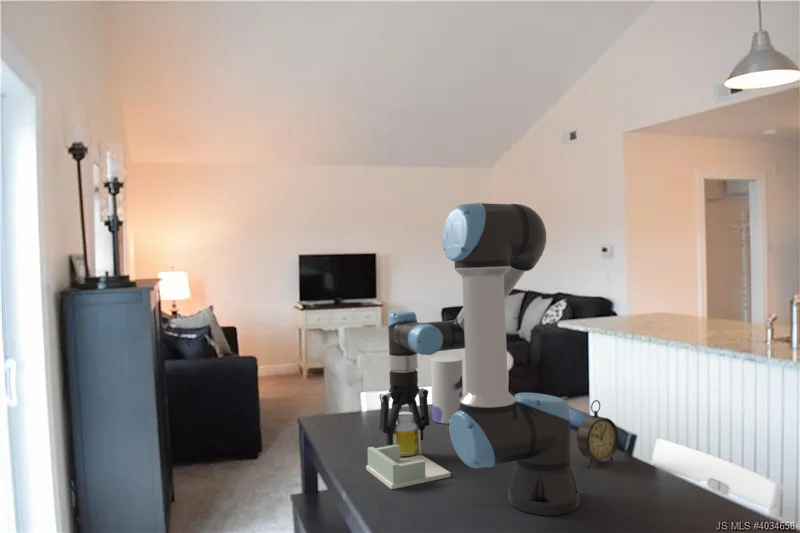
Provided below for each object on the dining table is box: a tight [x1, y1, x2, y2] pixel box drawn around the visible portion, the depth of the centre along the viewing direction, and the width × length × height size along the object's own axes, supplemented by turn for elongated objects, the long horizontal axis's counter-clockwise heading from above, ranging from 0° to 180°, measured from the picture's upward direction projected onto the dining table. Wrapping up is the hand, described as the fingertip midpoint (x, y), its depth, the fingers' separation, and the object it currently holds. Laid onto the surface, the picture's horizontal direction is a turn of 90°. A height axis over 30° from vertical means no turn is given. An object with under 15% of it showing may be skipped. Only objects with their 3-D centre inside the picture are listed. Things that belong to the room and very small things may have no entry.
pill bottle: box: [394, 411, 418, 459], centre depth 166 cm, size 6×6×12 cm
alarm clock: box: [576, 399, 619, 469], centre depth 157 cm, size 11×5×16 cm, turn 119°
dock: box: [365, 444, 452, 490], centre depth 154 cm, size 15×16×6 cm
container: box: [430, 355, 464, 425], centre depth 200 cm, size 10×10×20 cm
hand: (405, 454), depth 166 cm, fingers closed on pill bottle, 6 cm apart
